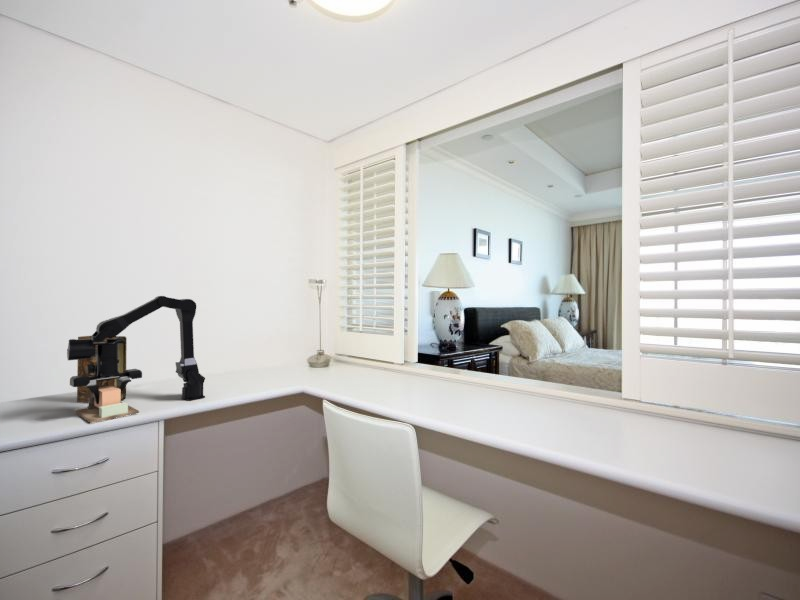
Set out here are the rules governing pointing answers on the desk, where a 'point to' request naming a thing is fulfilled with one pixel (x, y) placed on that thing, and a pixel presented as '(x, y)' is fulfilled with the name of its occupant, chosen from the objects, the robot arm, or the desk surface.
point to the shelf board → (93, 414)
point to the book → (85, 392)
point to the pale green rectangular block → (113, 409)
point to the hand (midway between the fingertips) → (107, 402)
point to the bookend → (91, 403)
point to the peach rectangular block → (108, 396)
